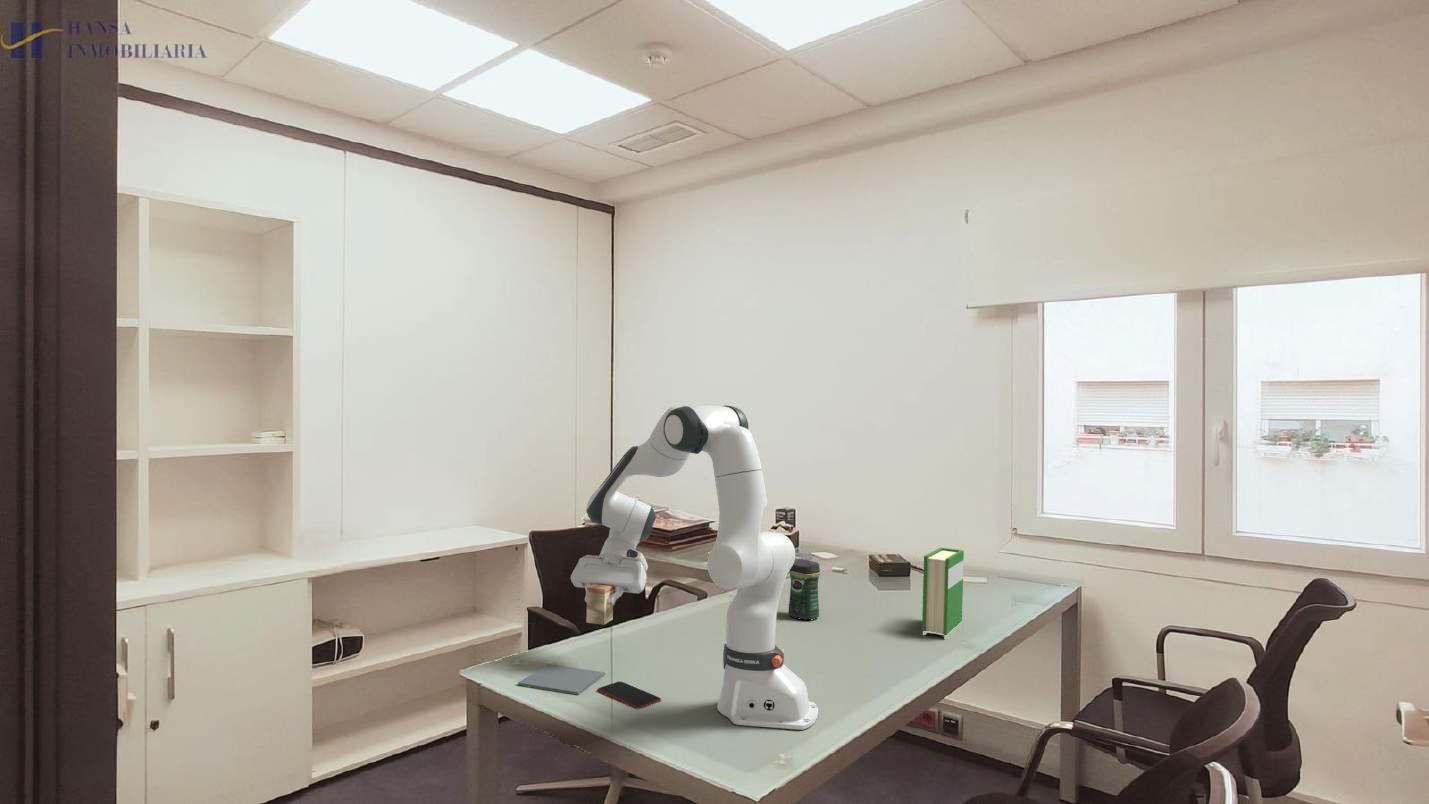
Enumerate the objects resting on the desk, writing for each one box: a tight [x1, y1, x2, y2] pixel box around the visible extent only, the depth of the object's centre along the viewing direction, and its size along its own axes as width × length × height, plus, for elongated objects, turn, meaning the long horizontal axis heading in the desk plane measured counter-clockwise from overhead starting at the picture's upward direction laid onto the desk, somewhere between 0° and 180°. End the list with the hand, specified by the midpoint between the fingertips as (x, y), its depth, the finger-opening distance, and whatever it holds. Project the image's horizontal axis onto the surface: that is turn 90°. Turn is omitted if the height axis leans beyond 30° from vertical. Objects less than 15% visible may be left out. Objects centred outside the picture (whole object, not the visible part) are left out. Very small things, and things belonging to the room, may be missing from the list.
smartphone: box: [597, 681, 662, 709], centre depth 175 cm, size 7×1×15 cm
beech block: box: [585, 584, 614, 625], centre depth 195 cm, size 5×5×9 cm
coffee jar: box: [787, 558, 821, 620], centre depth 244 cm, size 10×8×19 cm
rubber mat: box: [517, 663, 606, 696], centre depth 184 cm, size 16×14×1 cm
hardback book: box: [921, 547, 965, 635], centre depth 234 cm, size 18×7×24 cm, turn 148°
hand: (598, 602), depth 194 cm, fingers closed on beech block, 5 cm apart
